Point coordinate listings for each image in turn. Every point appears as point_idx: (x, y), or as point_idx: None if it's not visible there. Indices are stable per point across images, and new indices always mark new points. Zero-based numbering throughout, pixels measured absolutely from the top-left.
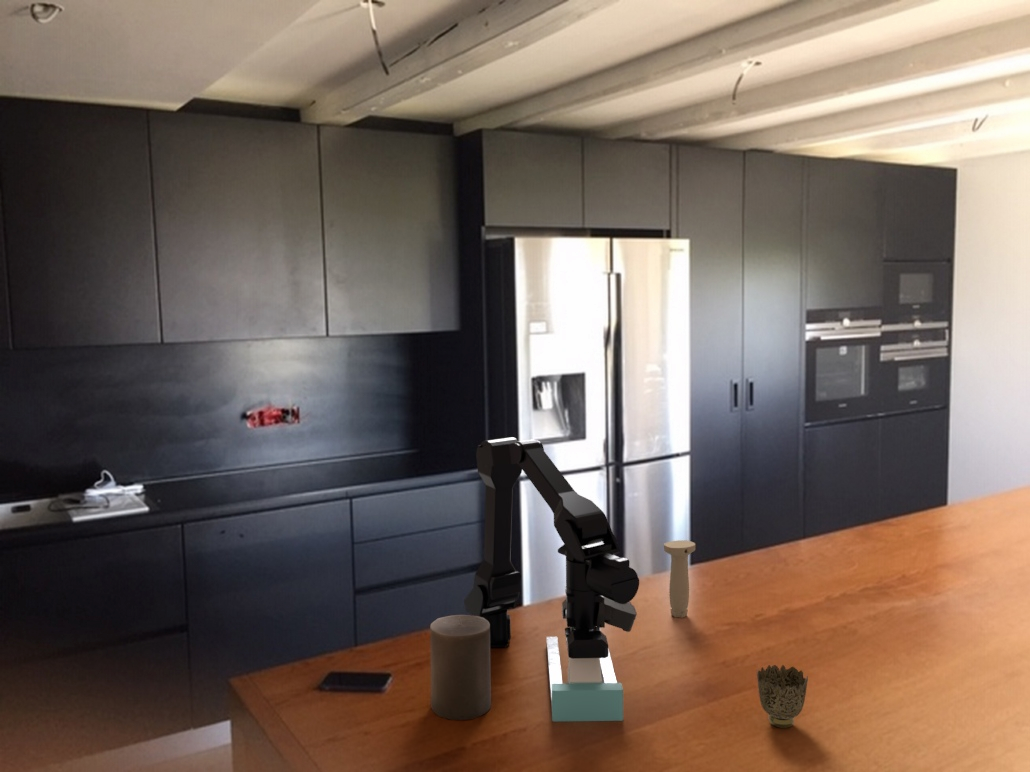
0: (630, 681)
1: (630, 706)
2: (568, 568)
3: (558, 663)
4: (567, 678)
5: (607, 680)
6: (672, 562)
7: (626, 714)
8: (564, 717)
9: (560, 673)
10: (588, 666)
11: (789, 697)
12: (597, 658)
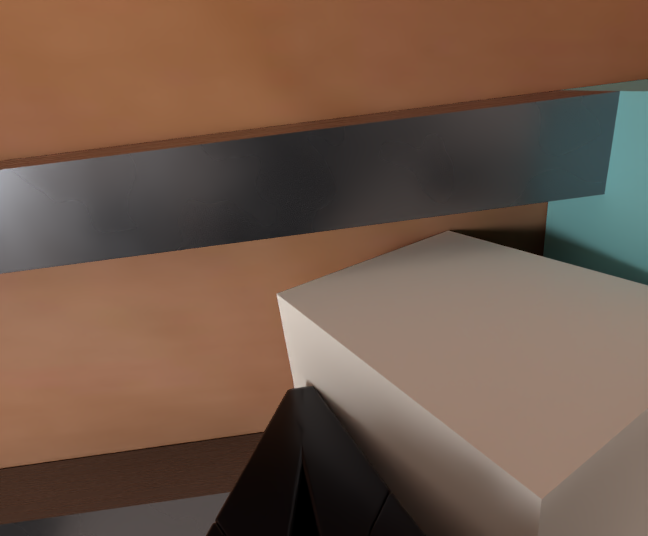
0: (29, 7)
1: (466, 17)
2: None
3: (53, 525)
4: None
5: (250, 214)
6: None
7: (580, 51)
8: None
9: (196, 500)
10: (629, 514)
11: None
12: (573, 494)
